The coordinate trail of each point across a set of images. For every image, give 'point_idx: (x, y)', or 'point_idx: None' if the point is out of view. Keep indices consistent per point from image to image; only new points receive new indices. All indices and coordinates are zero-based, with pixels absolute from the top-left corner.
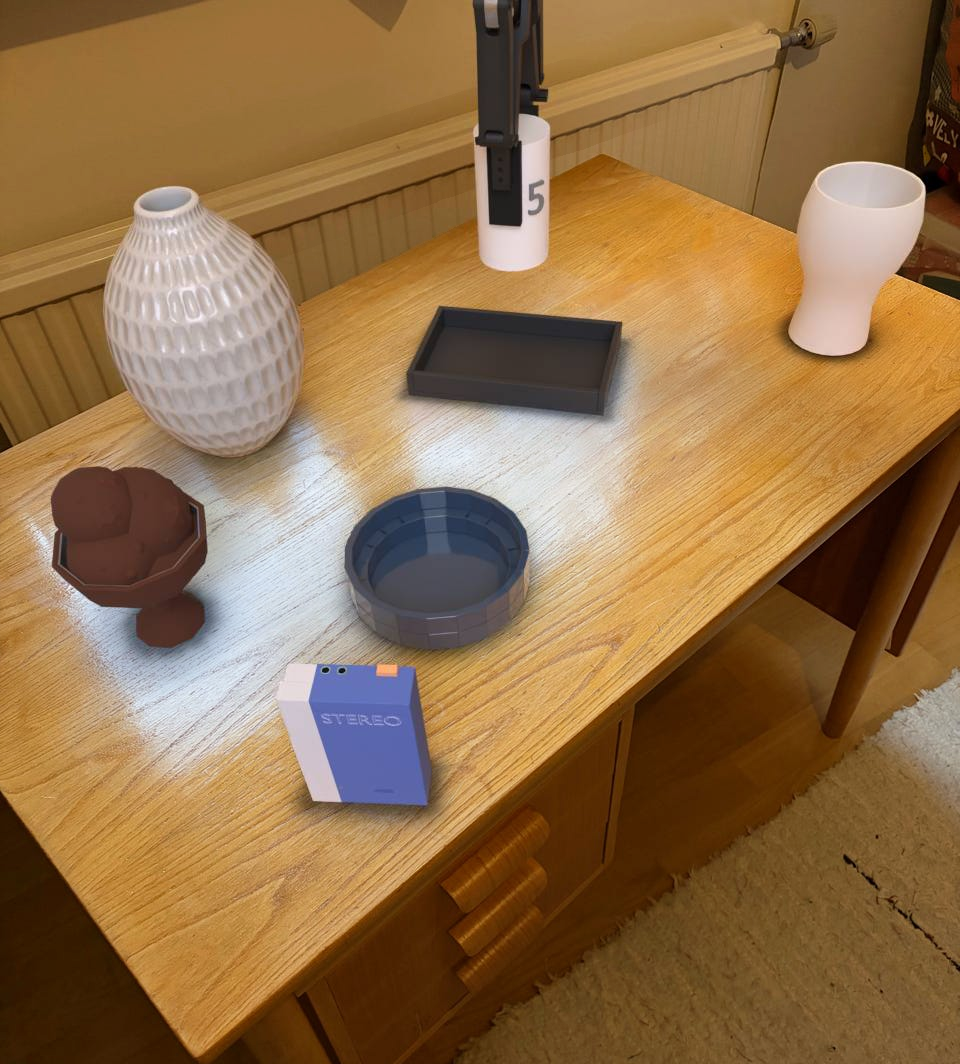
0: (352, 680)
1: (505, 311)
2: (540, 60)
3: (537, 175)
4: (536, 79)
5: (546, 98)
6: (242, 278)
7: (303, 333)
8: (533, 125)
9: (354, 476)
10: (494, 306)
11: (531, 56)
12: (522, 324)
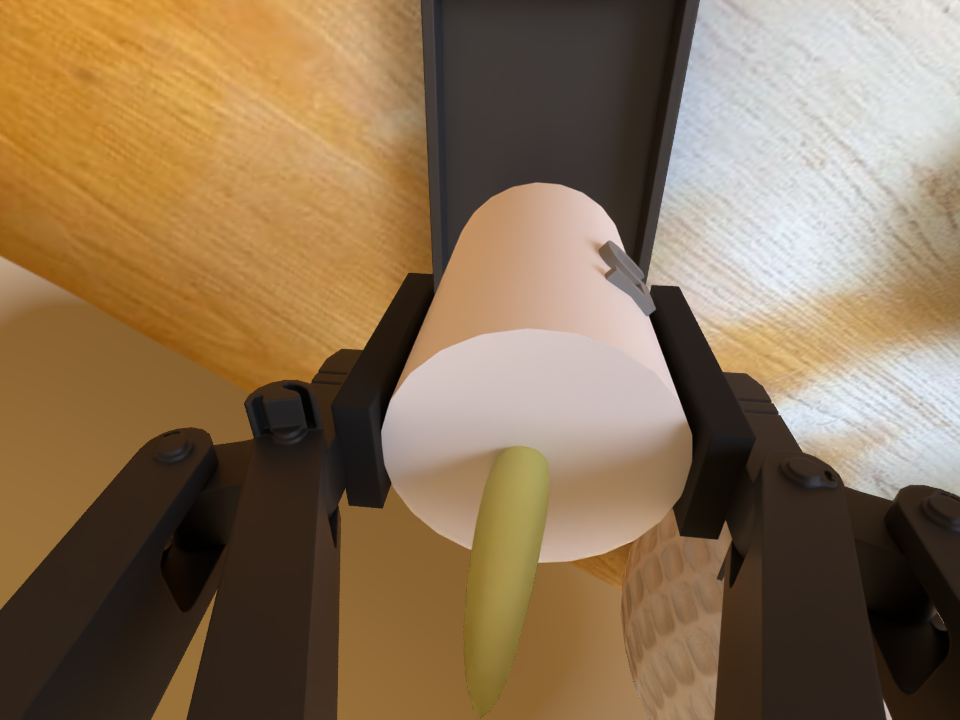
0: None
1: (431, 237)
2: (161, 519)
3: (626, 300)
4: (299, 489)
5: (285, 389)
6: (888, 714)
7: (723, 535)
8: (484, 396)
9: (820, 370)
10: (364, 257)
11: (314, 624)
12: (443, 199)
